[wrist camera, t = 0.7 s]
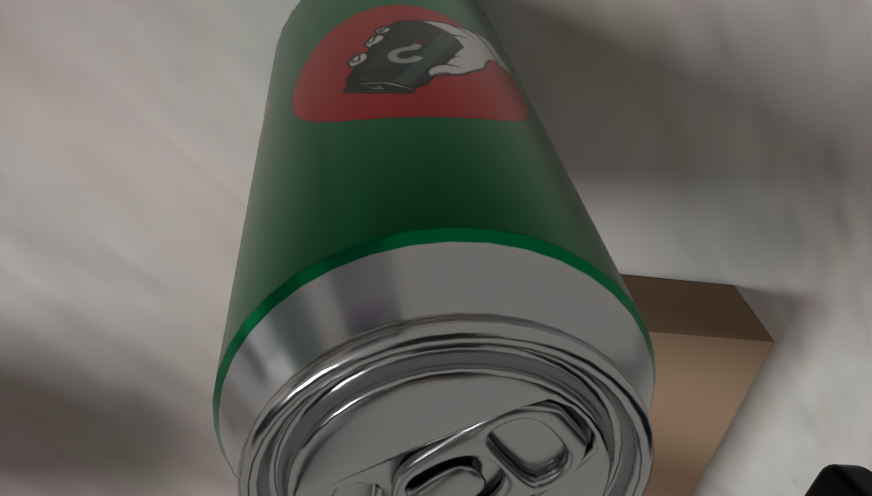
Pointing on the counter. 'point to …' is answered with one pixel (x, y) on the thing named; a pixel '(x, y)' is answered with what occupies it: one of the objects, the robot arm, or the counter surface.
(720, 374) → the walnut base
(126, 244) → the counter surface
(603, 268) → the soda can
